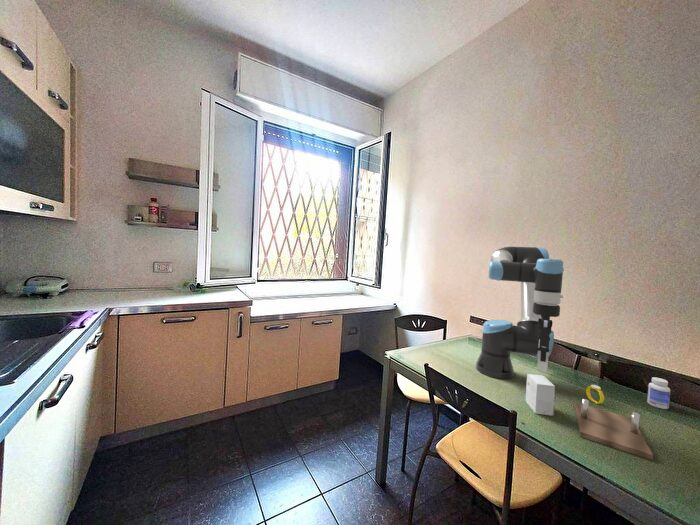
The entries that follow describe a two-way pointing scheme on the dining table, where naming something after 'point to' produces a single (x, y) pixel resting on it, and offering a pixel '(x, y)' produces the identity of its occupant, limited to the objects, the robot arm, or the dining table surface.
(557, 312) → the robot arm
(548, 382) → the small box
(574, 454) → the dining table surface
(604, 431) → the pin tray
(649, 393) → the pill bottle
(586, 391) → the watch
